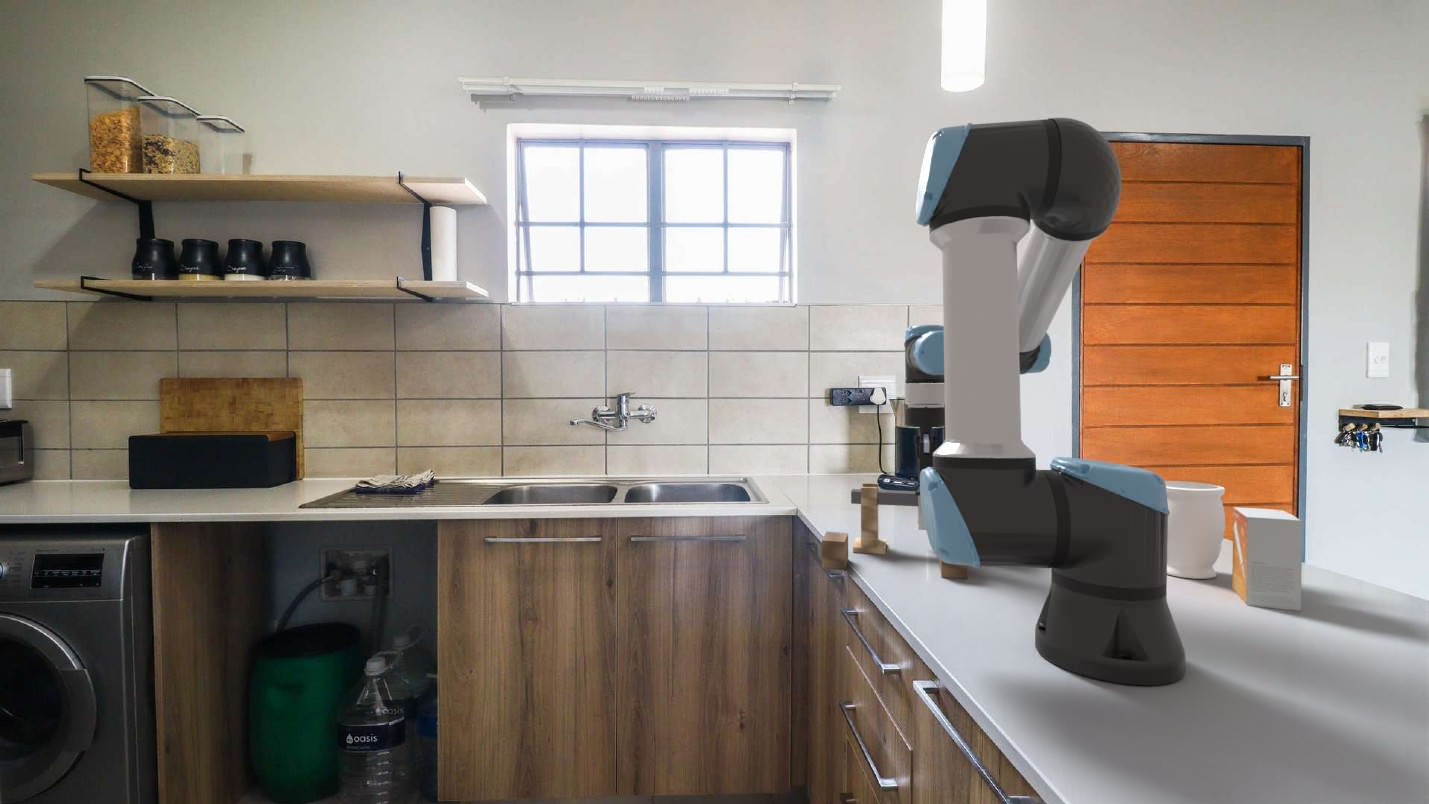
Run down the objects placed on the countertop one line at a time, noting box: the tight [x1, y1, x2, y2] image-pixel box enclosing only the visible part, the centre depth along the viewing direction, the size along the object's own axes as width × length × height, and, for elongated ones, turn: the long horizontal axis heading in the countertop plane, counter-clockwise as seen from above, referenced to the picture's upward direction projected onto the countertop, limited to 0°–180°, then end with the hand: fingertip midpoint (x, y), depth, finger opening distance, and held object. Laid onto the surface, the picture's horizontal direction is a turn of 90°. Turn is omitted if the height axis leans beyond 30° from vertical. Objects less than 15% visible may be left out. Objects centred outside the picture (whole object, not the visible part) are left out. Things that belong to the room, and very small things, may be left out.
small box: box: [1231, 506, 1303, 612], centre depth 95 cm, size 8×6×13 cm
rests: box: [821, 531, 968, 580], centre depth 113 cm, size 24×7×5 cm, turn 73°
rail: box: [850, 488, 919, 507], centre depth 124 cm, size 28×3×2 cm, turn 73°
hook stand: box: [852, 482, 887, 555], centre depth 124 cm, size 27×8×12 cm, turn 73°
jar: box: [1164, 480, 1226, 580], centre depth 109 cm, size 11×10×15 cm
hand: (925, 526), depth 124 cm, fingers open, 5 cm apart
